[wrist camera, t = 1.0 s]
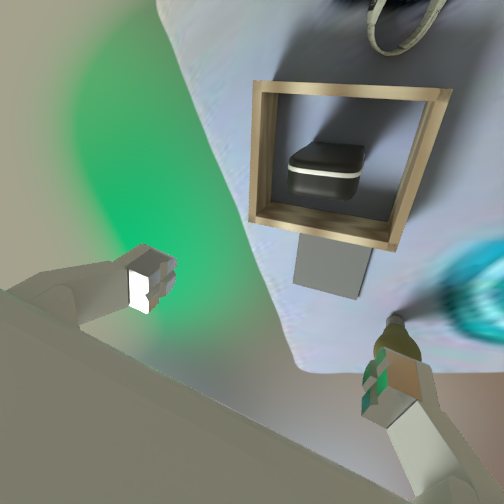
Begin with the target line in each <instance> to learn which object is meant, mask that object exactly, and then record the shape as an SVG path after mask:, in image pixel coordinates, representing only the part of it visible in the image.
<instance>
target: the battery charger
mask: <svg viewBox="0 0 504 504" xmlns="http://www.w3.org/2000/svg"><path fill="white" fill-rule="evenodd" d="M365 153H366V152H365V147H364V146H359V145H348V144H337V143H325V142H311V143H310V144H309V145H307V146H306V147H304V148H302V149H301V150H299V151H298V152H296V153H295V154H294V155H292V156H291V158H290V161H289V163H288V169H289V172H288V188H289V190H290V191H291V192H292V193H293V194H296V195H300V196H306V197H312V198H319V199H326V200H333V201H346V200H349V199H350V198H352V196H353V195H354V194H355V192H356V189H357V186H358V183H359V179H360V175H361V172H362V170H363V165H364V156H365Z"/></svg>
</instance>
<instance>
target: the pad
mask: <svg viewBox="0 0 504 504" xmlns="http://www.w3.org/2000/svg"><path fill="white" fill-rule="evenodd" d="M371 250H372V248H371V247H366V246H362V245H357V244H352V243H347V242H342V241H338V240H333V239H328V238H323V237H318V236H313V235H309V234H304V233H300V236H299V243H298V250H297V257H296V264H295V271H294V278H293V284H297V285H301V286H304V287H308V288H312V289H316V290H320V291H323V292H327V293H331V294H335V295H338V296H342V297H346V298H350V299H353V300H357V297H358V294H359V290H360V287H361V283H362V280H363V277H364V273H365V270H366V267H367V263H368V260H369V257H370V253H371Z"/></svg>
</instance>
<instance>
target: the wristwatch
mask: <svg viewBox="0 0 504 504" xmlns="http://www.w3.org/2000/svg"><path fill="white" fill-rule="evenodd" d="M385 2H386V0H371V2H370V5H369V9H368V14H367V21H366V23H368V27H367V33H368V34H367V36H368V40H369V43H370V45H371V47H372V48H373V49H374V50H375V51H376V52H379V53H381V54H383V55H385V56H395V55H399V54H402V53H404V52H406V51H407V50H409V49H410V48H412V47H413V46H414V45H415V44H416V43H417V42H419V40H420V39H421V38H422V37H423V36H424V35H425V33H426V32H427V31H428V29H429V28H430V27H431V25H432V23H433V21H434V20H435V19H436V17H437V15H438V13H439V12H440V10H441V8H442V7H443V5H444V4H445V2H446V0H431V1H430V3H429V5H428V7H427V11H426V13H425V14H424V17H423V18H422V20H421V21H420V23H419V25H418V26H417V28H416V29H415V31H414V32H413V33H412V34H411V35H410V37H409V38H407V39H406V40H405V41H404V42H403V43H401V44H399V45H398V47H399V48H398V49H395V50H393V51H382V50H381V49H380V48H379V47H378V46H377V44H376V41H375V36H374V29H375V24H376V21H377V19H378V17H379V14H380V12H381V10H382V8H383V6H384V4H385Z"/></svg>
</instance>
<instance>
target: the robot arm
mask: <svg viewBox="0 0 504 504" xmlns="http://www.w3.org/2000/svg"><path fill="white" fill-rule="evenodd" d="M176 266H177V259H176V258H175V257H173V256H171V255H168V254H166V253H164V252H162V251H159V250H157V249H155V248H152V247H150V246H148V245H146V244H140V245H138V246H137V247H135V248H133V249H132V250H130V251H129V252H127V253H126V254H124V255H123V256H121V257H119V258H118V259H116V260H115V261H114V262H111V261H105V262H99V263H93V264H87V265H81V266H75V267H69V268H63V269H57V270H51V271H45V272H40V273H38V274H36V275H34V276H32V277H30V278H28V279H26V280H25V281H23V282H21V283H19V284H17V285H16V286H14V287H12V288H10V289H8V290H6V291H4V290H2V289H0V504H504V491H503V489H502V488H501V487H500V485H499V484H498V483H497V481H496V480H495V479H494V477H493V476H492V475H491V473H490V472H489V471H488V469H487V468H486V466H485V465H484V464H483V462H482V461H481V460H480V458H479V457H478V456H477V454H476V453H475V452H474V450H473V449H472V448H471V446H470V445H469V444H468V442H467V441H466V440H465V438H464V437H463V436H462V434H461V433H460V432H459V430H458V429H457V428H456V426H455V425H454V424H453V422H452V421H451V419H450V418H449V417H448V415H447V414H446V413H445V412H442V411H441V410H440V405H439V401H438V396H437V392H436V387H435V383H434V379H433V374H432V369H431V367H430V366H429V365H427V364H425V363H423V362H420V361H418V360H415V359H412V358H410V357H407V356H405V355H403V354H400V353H398V352H395V351H393V350H391V349H388V348H386V347H381V348H380V349H379V350H378V352H377V353H376V359H375V360H371V361H370V362H369V364H368V365H367V367H366V369H365V372H364V375H363V383H362V386H363V388H364V390H365V392H366V393H365V395H364V396H363V397H362V410H361V416H362V417H364V418H367V419H368V420H370V421H372V422H375V423H376V424H378V425H380V426H382V427H384V428H386V429H387V433H388V435H389V437H390V439H391V442H392V444H393V446H394V448H395V450H396V453H397V455H398V457H399V460H400V462H401V464H402V466H403V469H404V471H405V473H406V475H407V478H408V480H409V482H410V484H411V486H412V489H413V491H414V493H415V495H416V498H414V499H412V500H411V501H409V500H407V499H405V498H403V497H401V496H399V495H397V494H395V493H394V492H391V491H390V490H388V489H386V488H384V487H382V486H380V485H378V484H376V483H374V482H372V481H370V480H369V479H366V478H365V477H363V476H361V475H359V474H357V473H355V472H353V471H351V470H349V469H347V468H345V467H343V466H342V465H339V464H338V463H336V462H334V461H332V460H330V459H328V458H326V457H324V456H322V455H320V454H318V453H316V452H314V451H312V450H311V449H309V448H307V447H305V446H303V445H301V444H299V443H297V442H295V441H293V440H291V439H289V438H287V437H285V436H284V435H282V434H280V433H278V432H276V431H274V430H272V429H270V428H268V427H266V426H264V425H262V424H260V423H258V422H256V421H255V420H253V419H250V418H248V417H247V416H245V415H243V414H241V413H239V412H237V411H235V410H233V409H231V408H229V407H227V406H226V405H224V404H222V403H220V402H218V401H216V400H214V399H212V398H210V397H208V396H206V395H204V394H202V393H201V392H199V391H197V390H195V389H193V388H191V387H189V386H187V385H185V384H183V383H181V382H179V381H177V380H176V379H174V378H172V377H170V376H168V375H166V374H164V373H162V372H160V371H158V370H156V369H154V368H152V367H151V366H148V365H146V364H145V363H143V362H141V361H139V360H137V359H135V358H133V357H131V356H129V355H127V354H125V353H123V352H122V351H120V350H118V349H116V348H114V347H112V346H110V345H108V344H106V343H104V342H102V341H100V340H98V339H97V338H95V337H93V336H91V335H89V334H87V333H85V332H83V331H81V330H80V327H79V325H80V324H83V323H86V322H89V321H91V320H94V319H97V318H99V317H102V316H105V315H107V314H110V313H112V312H115V311H118V310H120V309H123V308H126V307H128V306H129V305H130V306H132V307H134V308H136V309H139V310H141V311H143V312H145V313H149V312H150V311H151V310H152V309H153V308H154V307H155V306H156V305H157V304H158V303H159V298H160V297H164V296H166V295H167V294H168V293H169V292H170V291H171V289H172V288H173V286H174V283H175V280H176V274H175V272H174V270H173V269H174V268H176Z"/></svg>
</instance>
